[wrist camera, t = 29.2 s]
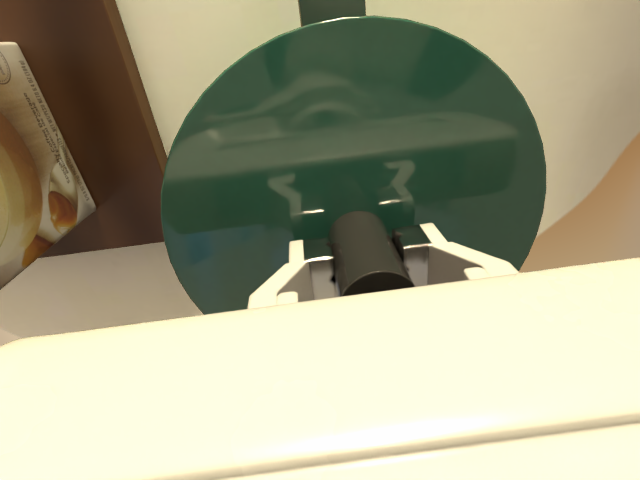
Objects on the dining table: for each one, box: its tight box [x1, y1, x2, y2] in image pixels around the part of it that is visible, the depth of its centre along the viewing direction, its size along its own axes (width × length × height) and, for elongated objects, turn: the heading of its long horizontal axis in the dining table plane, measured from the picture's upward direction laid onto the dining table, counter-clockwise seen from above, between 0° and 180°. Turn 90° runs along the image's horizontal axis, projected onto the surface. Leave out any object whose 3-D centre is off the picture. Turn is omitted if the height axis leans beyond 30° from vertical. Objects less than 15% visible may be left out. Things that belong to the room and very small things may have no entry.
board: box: [0, 0, 168, 258], centre depth 20 cm, size 15×14×2 cm
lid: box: [161, 16, 546, 315], centre depth 13 cm, size 15×15×5 cm
